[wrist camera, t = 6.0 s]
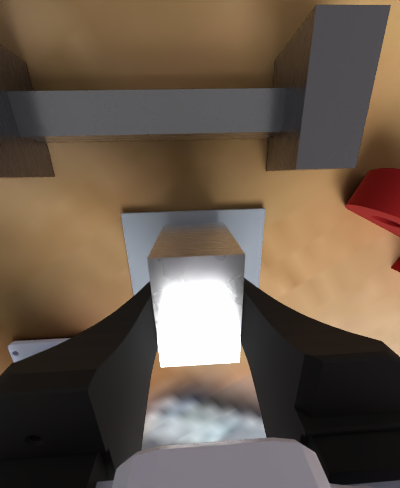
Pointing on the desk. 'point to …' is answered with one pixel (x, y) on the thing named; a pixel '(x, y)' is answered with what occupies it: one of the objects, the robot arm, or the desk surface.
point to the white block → (197, 294)
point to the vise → (216, 103)
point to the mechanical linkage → (379, 200)
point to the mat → (151, 223)
